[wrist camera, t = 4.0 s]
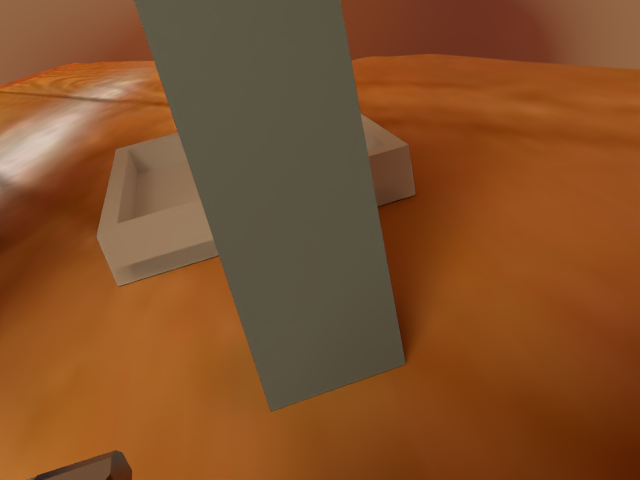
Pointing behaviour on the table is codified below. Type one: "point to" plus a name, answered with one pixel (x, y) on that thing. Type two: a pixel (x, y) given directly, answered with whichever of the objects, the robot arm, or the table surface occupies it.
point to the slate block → (282, 183)
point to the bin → (198, 203)
